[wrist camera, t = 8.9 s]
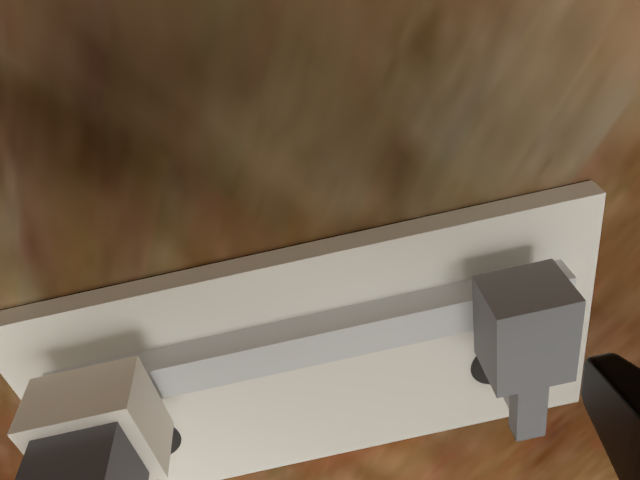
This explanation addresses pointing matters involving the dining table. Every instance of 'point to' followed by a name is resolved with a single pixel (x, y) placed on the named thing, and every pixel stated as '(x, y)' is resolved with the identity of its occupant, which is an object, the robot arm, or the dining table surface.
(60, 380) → the block
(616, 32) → the dining table surface
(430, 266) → the plate
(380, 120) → the dining table surface
